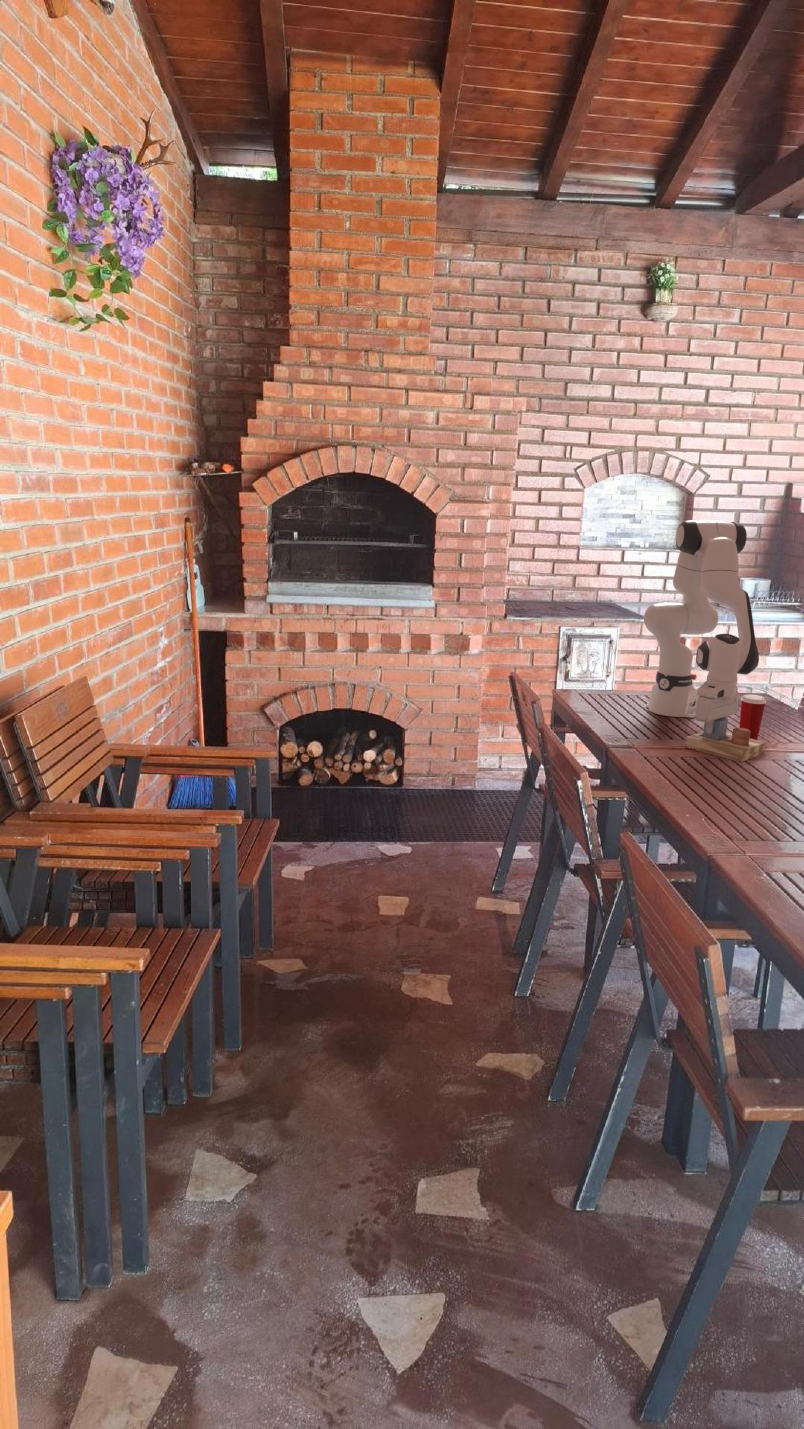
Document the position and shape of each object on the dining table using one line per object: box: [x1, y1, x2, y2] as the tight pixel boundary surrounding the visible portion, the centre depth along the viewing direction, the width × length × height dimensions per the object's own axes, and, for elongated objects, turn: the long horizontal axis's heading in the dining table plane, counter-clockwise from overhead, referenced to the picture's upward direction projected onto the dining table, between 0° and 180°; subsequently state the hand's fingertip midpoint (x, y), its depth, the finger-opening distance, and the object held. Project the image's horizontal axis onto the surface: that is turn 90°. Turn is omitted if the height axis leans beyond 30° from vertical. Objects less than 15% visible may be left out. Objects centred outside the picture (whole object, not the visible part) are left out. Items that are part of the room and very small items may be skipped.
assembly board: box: [685, 727, 766, 763], centre depth 279 cm, size 15×18×8 cm
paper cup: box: [738, 694, 767, 740], centre depth 292 cm, size 8×8×14 cm
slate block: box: [702, 718, 729, 741], centre depth 282 cm, size 5×5×6 cm
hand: (714, 731), depth 282 cm, fingers closed on slate block, 5 cm apart
